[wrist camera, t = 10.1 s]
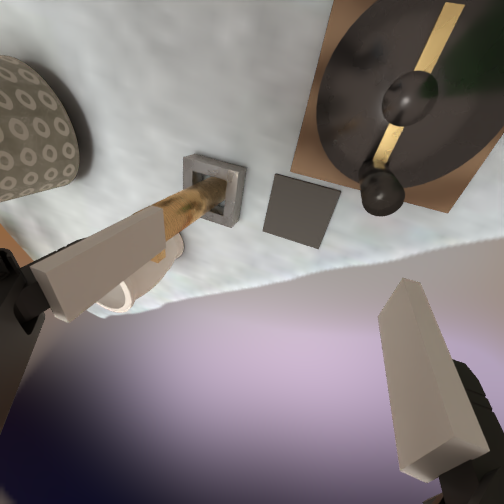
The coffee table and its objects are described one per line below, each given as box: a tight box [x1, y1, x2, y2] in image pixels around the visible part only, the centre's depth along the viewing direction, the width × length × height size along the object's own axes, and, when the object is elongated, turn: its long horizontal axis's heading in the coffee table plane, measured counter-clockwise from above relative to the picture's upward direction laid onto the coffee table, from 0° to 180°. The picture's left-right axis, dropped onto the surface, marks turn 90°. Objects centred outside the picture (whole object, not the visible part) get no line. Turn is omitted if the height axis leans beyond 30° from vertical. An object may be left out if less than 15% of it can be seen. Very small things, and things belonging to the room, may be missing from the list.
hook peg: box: [134, 176, 227, 263], centre depth 31 cm, size 6×4×16 cm, turn 169°
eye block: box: [183, 154, 247, 228], centre depth 35 cm, size 8×8×3 cm
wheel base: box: [290, 0, 504, 213], centre depth 24 cm, size 19×19×1 cm
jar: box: [96, 233, 184, 313], centre depth 40 cm, size 11×10×15 cm
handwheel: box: [316, 0, 504, 216], centre depth 19 cm, size 17×17×11 cm
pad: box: [263, 174, 341, 249], centre depth 34 cm, size 9×9×1 cm
